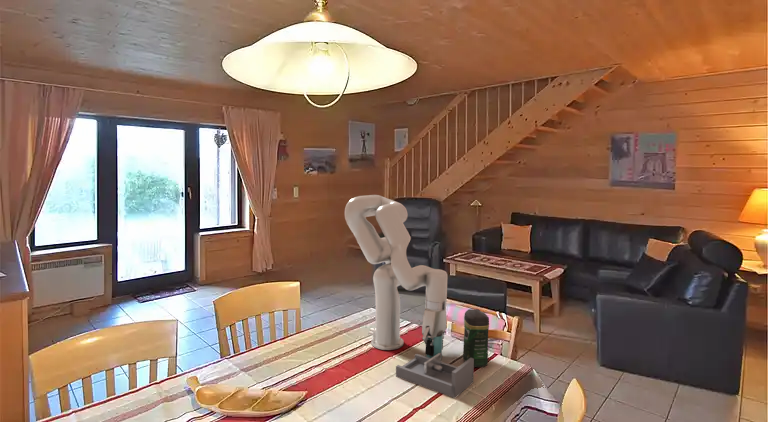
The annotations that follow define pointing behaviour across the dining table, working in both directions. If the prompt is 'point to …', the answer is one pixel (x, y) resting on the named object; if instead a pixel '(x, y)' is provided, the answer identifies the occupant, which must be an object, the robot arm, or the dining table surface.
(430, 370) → the pusher plate
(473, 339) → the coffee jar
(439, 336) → the spice jar
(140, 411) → the dining table surface
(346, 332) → the dining table surface
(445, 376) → the grey divided tray
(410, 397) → the dining table surface
